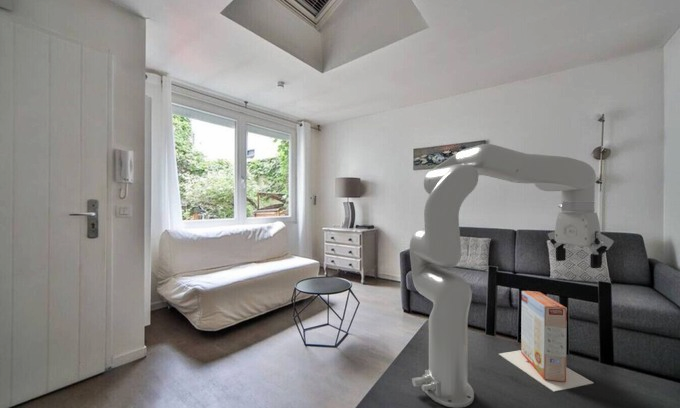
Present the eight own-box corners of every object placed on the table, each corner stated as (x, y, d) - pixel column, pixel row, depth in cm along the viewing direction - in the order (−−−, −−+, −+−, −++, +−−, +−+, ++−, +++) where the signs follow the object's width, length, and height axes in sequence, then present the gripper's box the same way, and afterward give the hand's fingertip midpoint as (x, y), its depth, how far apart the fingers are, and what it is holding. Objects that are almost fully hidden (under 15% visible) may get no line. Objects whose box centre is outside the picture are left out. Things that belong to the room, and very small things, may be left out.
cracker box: (568, 383, 74) (568, 307, 74) (543, 380, 75) (543, 305, 75) (540, 354, 88) (541, 290, 87) (520, 352, 89) (520, 289, 89)
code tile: (553, 391, 71) (553, 390, 71) (498, 354, 88) (498, 353, 88) (593, 383, 74) (593, 382, 74) (532, 348, 92) (532, 348, 92)
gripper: (540, 207, 89) (540, 258, 89) (602, 208, 72) (601, 272, 73) (557, 207, 91) (557, 257, 91) (622, 208, 74) (621, 270, 74)
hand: (577, 264), depth 82 cm, fingers open, 9 cm apart
